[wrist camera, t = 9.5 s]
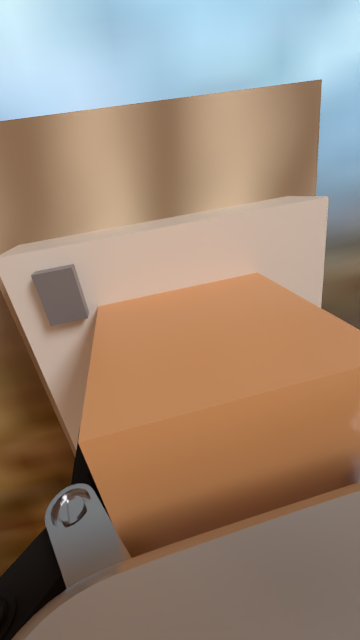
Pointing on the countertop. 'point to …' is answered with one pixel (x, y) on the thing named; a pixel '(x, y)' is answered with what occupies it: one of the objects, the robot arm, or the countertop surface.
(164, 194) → the board
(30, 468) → the countertop surface
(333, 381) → the orange block
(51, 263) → the socket
